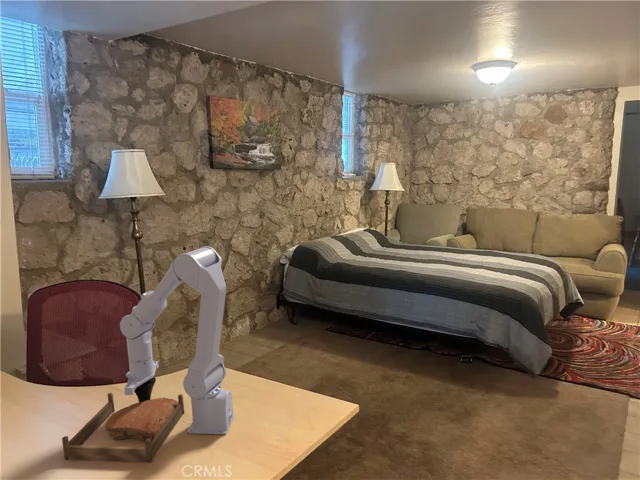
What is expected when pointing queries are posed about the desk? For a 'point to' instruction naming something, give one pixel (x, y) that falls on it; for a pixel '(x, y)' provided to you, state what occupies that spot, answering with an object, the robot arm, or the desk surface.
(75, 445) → the wooden square frame
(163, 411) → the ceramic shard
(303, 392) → the desk surface
